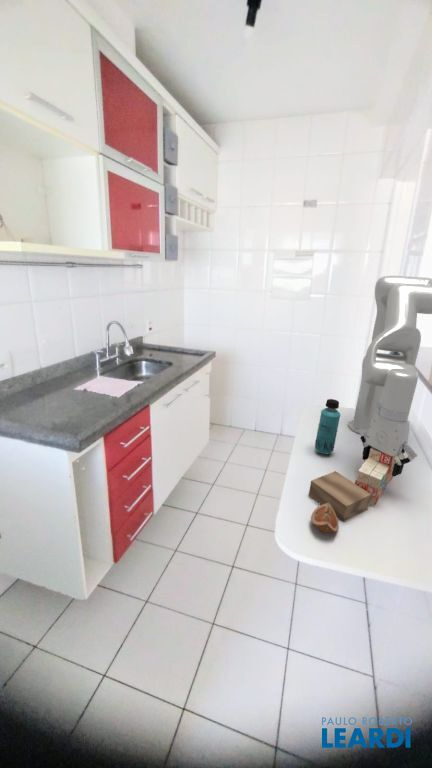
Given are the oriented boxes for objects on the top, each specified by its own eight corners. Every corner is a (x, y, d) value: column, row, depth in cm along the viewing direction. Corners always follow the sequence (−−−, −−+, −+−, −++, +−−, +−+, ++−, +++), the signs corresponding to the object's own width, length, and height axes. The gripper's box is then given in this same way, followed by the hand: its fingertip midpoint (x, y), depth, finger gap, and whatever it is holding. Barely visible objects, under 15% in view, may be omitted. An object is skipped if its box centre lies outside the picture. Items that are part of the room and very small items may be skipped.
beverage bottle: (314, 446, 123) (322, 395, 117) (333, 450, 121) (343, 398, 115) (312, 455, 118) (321, 402, 111) (333, 460, 116) (343, 405, 109)
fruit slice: (336, 544, 81) (340, 527, 79) (307, 535, 83) (310, 518, 81) (338, 521, 88) (341, 505, 86) (311, 513, 90) (314, 497, 88)
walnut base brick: (332, 485, 102) (335, 471, 100) (367, 509, 93) (371, 494, 91) (308, 495, 97) (311, 480, 95) (342, 522, 88) (346, 506, 86)
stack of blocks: (374, 508, 93) (383, 470, 89) (351, 498, 97) (359, 460, 93) (394, 475, 109) (403, 441, 105) (373, 467, 113) (381, 434, 109)
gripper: (358, 404, 100) (347, 455, 106) (416, 428, 86) (400, 485, 92) (374, 400, 104) (363, 450, 109) (432, 422, 90) (416, 478, 96)
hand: (380, 466), depth 101 cm, fingers open, 9 cm apart
